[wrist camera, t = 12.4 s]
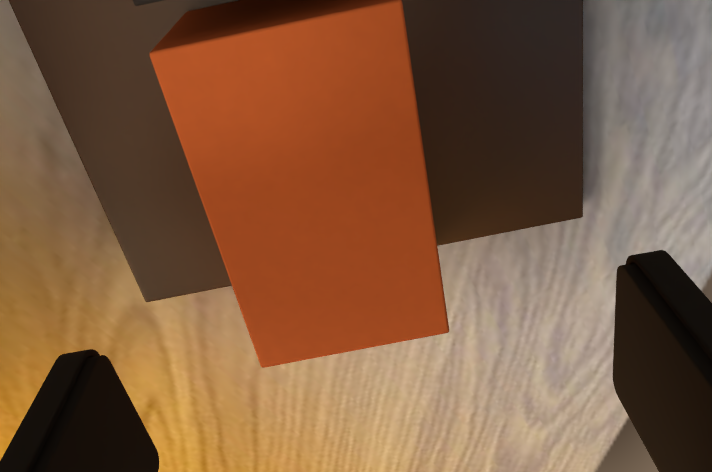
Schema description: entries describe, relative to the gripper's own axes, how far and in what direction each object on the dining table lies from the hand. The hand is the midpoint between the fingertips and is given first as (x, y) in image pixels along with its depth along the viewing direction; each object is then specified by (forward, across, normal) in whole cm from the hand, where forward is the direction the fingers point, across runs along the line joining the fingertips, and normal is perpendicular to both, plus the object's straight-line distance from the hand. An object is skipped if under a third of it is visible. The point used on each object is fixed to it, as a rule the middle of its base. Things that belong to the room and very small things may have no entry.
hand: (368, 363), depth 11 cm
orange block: (+11, +1, 0) cm, 11 cm away
